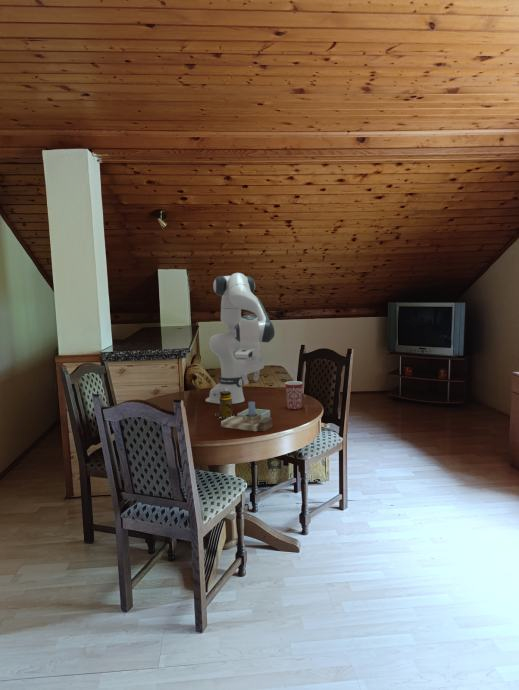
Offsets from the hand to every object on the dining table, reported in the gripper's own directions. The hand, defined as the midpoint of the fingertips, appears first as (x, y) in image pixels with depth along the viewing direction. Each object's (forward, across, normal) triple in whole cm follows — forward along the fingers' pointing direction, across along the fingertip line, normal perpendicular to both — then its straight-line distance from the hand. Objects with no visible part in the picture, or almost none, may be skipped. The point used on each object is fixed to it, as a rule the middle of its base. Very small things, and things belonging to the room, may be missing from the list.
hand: (251, 382), depth 205 cm
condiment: (+21, -12, -22) cm, 33 cm away
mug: (+21, -40, +4) cm, 45 cm away
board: (+21, 0, -5) cm, 21 cm away
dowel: (+18, 0, 0) cm, 18 cm away
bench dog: (+21, 0, +6) cm, 22 cm away
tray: (+21, -12, -5) cm, 24 cm away
